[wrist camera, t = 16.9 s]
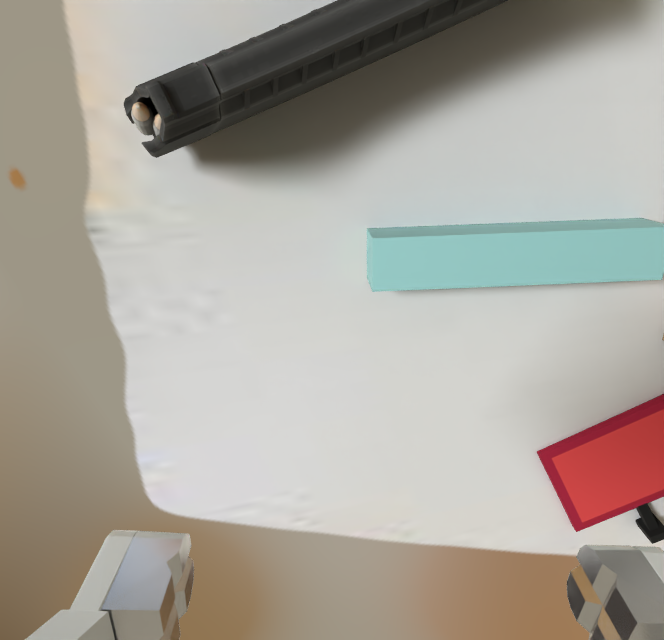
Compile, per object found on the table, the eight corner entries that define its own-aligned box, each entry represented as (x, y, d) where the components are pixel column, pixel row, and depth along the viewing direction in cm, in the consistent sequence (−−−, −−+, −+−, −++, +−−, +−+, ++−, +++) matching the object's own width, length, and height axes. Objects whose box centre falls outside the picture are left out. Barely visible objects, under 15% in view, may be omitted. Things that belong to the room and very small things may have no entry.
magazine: (722, -198, 21) (80, 40, 16) (727, -112, 22) (131, 134, 17) (488, -31, 37) (128, 115, 32) (498, 14, 38) (153, 162, 33)
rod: (366, 227, 37) (372, 238, 33) (639, 217, 37) (675, 226, 34) (366, 276, 38) (372, 291, 34) (628, 265, 39) (661, 279, 35)
